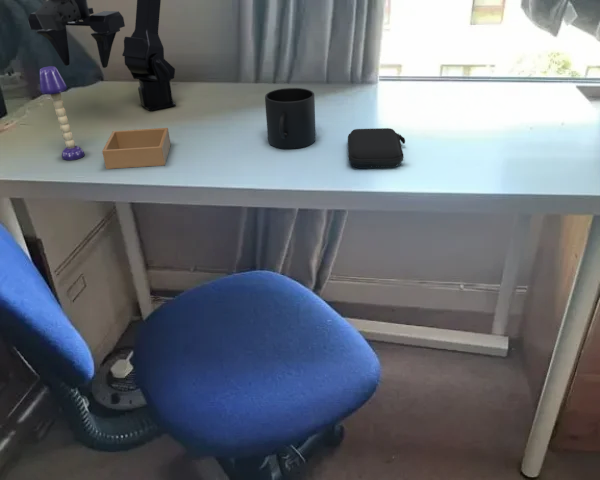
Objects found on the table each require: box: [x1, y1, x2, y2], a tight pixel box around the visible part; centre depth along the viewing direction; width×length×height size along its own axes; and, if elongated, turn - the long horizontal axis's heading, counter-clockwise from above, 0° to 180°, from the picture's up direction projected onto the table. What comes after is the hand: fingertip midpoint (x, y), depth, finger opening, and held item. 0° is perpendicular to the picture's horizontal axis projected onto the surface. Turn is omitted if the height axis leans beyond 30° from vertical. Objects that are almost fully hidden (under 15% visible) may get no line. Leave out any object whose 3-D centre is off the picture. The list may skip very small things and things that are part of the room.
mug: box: [264, 87, 317, 150], centre depth 120 cm, size 9×12×9 cm
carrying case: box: [347, 127, 406, 169], centre depth 115 cm, size 11×3×15 cm
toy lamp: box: [38, 65, 85, 161], centre depth 116 cm, size 5×5×17 cm
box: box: [101, 127, 172, 170], centre depth 119 cm, size 11×11×4 cm
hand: (86, 66), depth 127 cm, fingers open, 9 cm apart
